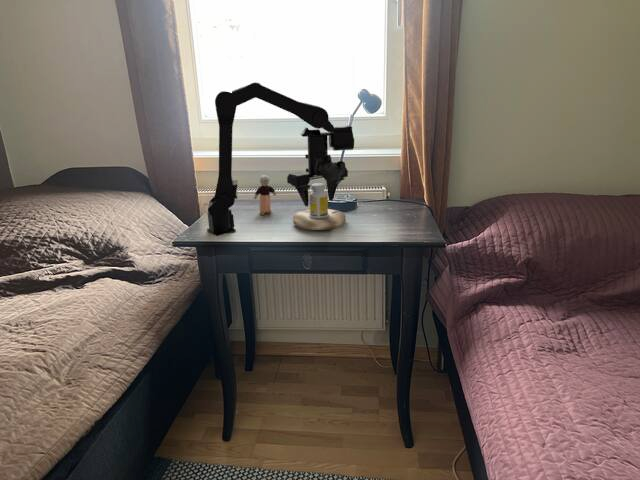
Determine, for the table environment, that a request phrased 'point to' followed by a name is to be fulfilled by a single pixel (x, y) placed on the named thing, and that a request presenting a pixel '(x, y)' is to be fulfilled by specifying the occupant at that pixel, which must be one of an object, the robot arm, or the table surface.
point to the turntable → (319, 220)
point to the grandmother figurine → (264, 195)
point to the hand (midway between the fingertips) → (318, 203)
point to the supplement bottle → (318, 201)
